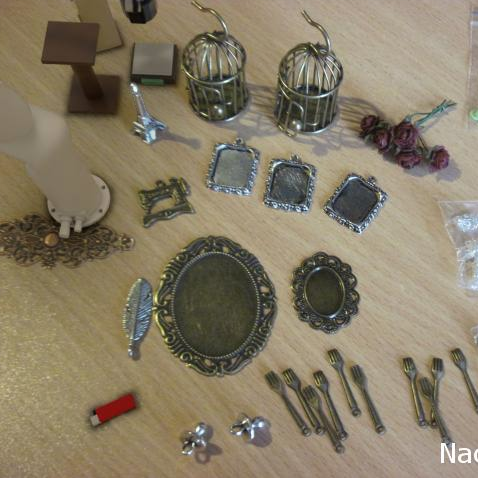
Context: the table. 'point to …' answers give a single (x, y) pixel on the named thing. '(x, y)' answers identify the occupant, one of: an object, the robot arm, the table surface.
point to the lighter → (112, 409)
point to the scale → (154, 63)
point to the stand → (80, 66)
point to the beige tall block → (99, 21)
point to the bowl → (144, 8)
